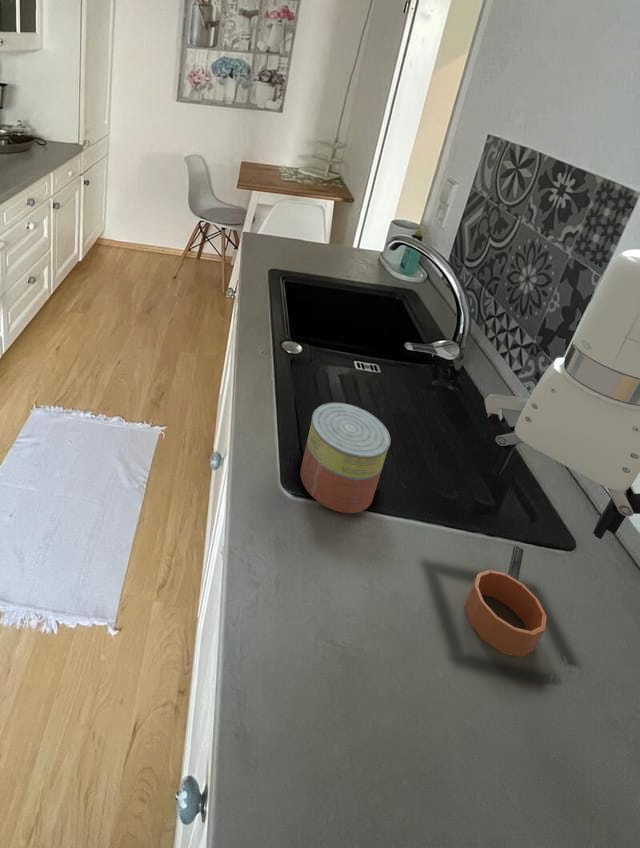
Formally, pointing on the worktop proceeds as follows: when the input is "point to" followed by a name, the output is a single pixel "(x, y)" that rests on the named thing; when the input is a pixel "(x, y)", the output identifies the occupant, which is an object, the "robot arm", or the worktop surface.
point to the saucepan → (512, 596)
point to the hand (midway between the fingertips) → (546, 498)
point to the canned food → (344, 457)
